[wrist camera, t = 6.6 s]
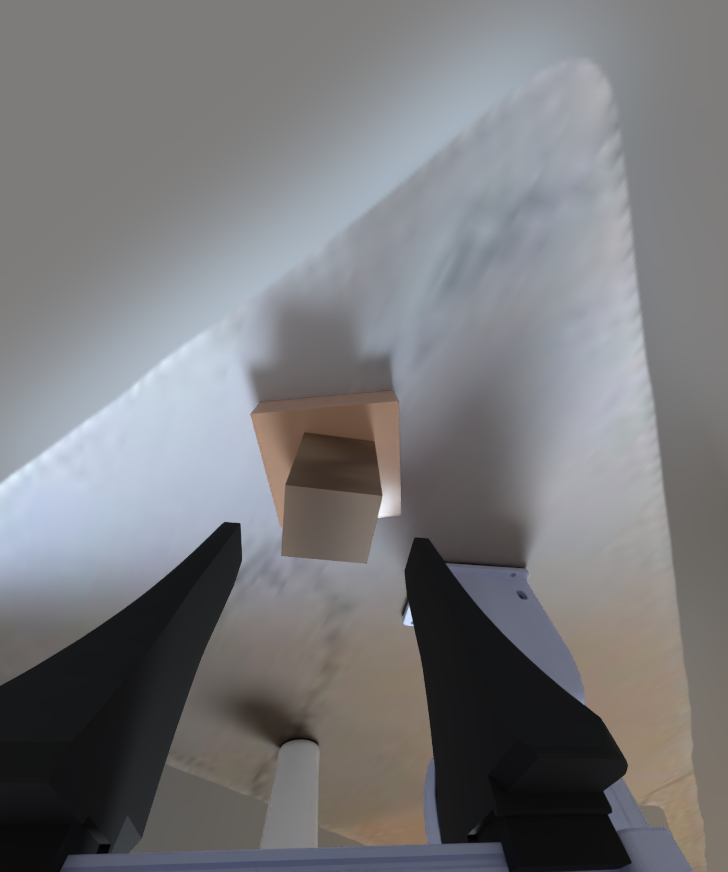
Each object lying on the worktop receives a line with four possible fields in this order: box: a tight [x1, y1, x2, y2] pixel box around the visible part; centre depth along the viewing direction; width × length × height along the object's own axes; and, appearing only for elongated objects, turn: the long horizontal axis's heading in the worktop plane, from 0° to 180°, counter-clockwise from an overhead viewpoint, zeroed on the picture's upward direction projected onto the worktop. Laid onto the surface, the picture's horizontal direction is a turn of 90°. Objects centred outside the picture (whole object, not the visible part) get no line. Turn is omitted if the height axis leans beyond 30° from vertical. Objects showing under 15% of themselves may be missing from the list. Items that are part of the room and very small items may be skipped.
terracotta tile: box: [250, 390, 401, 527], centre depth 18 cm, size 8×8×2 cm
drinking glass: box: [259, 739, 320, 849], centre depth 32 cm, size 7×7×15 cm
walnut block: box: [281, 432, 383, 563], centre depth 15 cm, size 4×4×5 cm
